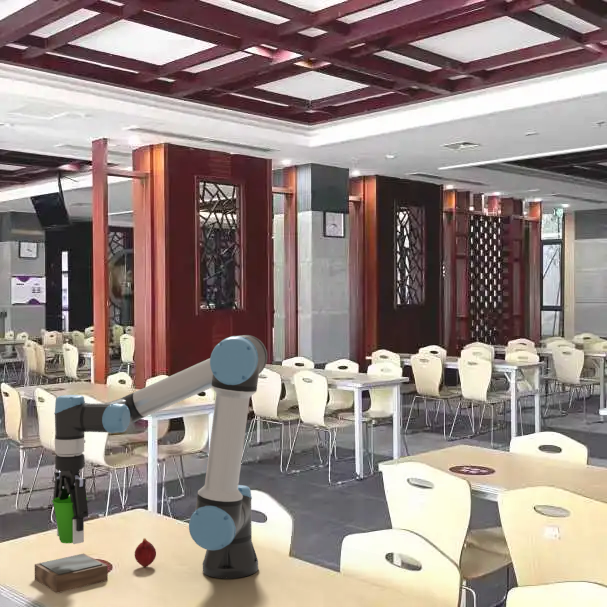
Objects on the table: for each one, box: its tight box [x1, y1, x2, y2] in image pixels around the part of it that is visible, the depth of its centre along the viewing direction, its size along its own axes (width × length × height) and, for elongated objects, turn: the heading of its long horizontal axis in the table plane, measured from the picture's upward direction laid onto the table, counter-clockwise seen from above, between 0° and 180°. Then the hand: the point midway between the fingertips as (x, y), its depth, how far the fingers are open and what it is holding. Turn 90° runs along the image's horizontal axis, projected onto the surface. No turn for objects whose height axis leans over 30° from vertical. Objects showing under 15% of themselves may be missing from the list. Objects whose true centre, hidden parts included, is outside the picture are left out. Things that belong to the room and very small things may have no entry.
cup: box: [51, 495, 74, 544], centre depth 218 cm, size 9×9×11 cm
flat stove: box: [34, 553, 109, 594], centre depth 218 cm, size 14×14×4 cm
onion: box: [134, 537, 157, 568], centre depth 228 cm, size 6×6×8 cm
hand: (70, 538), depth 218 cm, fingers closed on cup, 9 cm apart
